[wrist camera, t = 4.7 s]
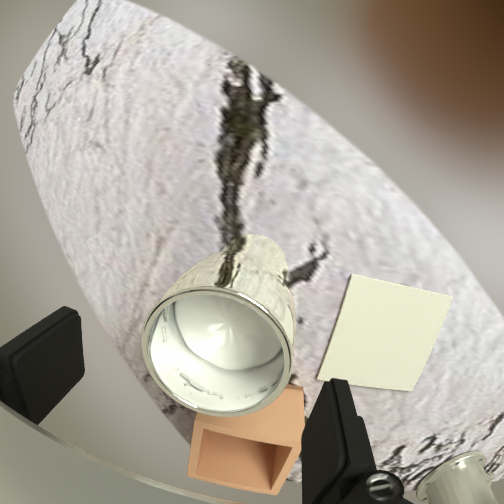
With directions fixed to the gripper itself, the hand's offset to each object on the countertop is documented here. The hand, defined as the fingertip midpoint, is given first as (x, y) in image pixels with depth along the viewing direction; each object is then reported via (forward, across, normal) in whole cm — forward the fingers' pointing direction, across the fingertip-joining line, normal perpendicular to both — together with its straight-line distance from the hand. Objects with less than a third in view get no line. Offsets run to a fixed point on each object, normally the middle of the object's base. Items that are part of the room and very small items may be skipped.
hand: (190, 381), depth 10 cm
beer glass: (+17, -1, 0) cm, 17 cm away
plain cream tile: (+17, -15, +4) cm, 23 cm away
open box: (+17, -4, +16) cm, 23 cm away
